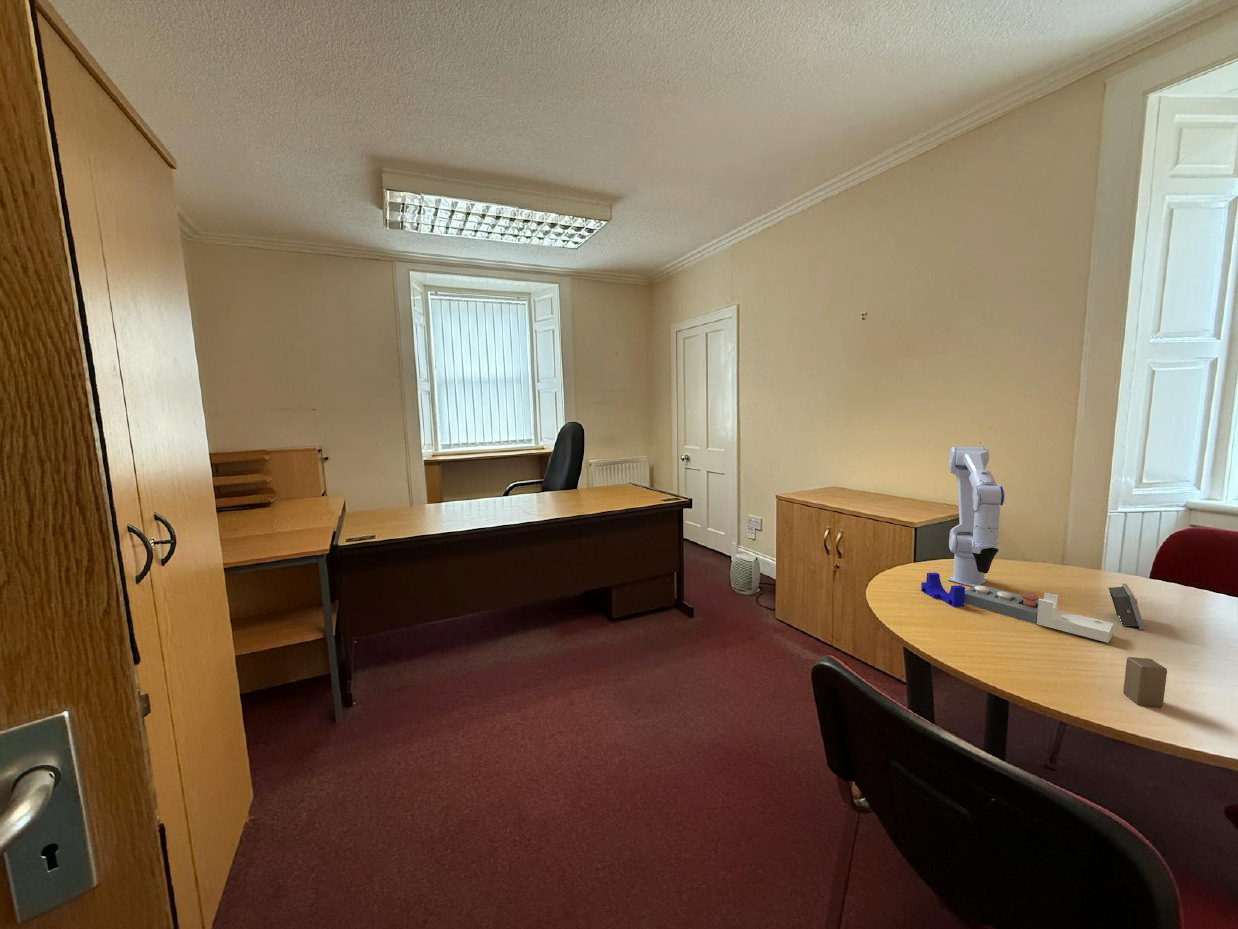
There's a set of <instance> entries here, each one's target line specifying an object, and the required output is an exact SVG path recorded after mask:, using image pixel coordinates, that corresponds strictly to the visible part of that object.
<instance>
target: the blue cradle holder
mask: <svg viewBox="0 0 1238 929" xmlns="http://www.w3.org/2000/svg"><path fill="white" fill-rule="evenodd" d="M940 575H941V574H940V573H938V572H926V579H925V580H926V581H922V582H921V584H920V585H921V586H920V588H921V589H920V592H921V593H923V592H924V593H923V594H925V595H927V596H929V597H931V598H932V599H934V600H937V599H938V600H941V601H942V602H944V603H946V604H947V605H949V606H951V607H953V608H964V607H965V604H964V599H965V591H966V586H964V585H963V584H961V585H956V584H955V585H950V590H949V592H947V590H946V589H945V588H944V587H943V584H942V582H941V576H940Z"/></svg>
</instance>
